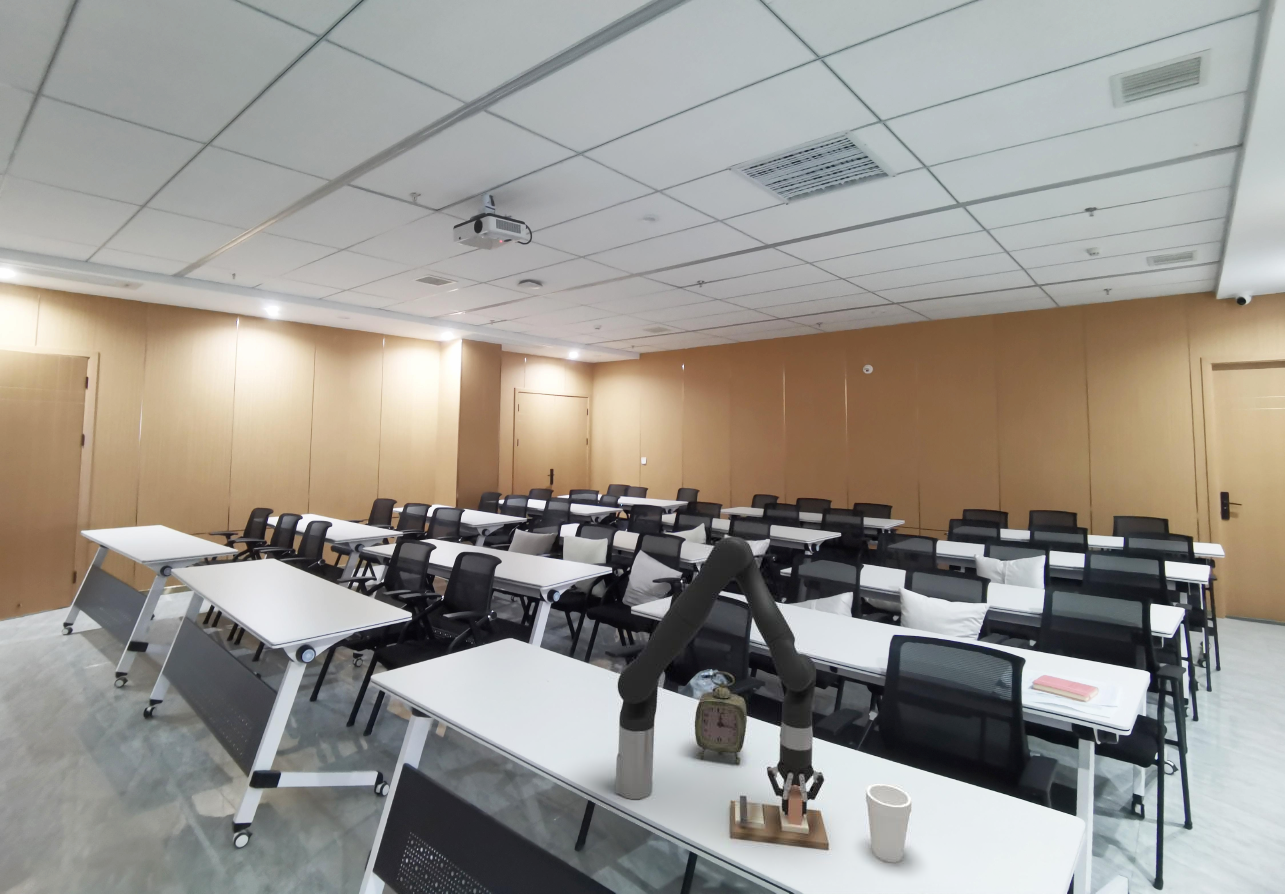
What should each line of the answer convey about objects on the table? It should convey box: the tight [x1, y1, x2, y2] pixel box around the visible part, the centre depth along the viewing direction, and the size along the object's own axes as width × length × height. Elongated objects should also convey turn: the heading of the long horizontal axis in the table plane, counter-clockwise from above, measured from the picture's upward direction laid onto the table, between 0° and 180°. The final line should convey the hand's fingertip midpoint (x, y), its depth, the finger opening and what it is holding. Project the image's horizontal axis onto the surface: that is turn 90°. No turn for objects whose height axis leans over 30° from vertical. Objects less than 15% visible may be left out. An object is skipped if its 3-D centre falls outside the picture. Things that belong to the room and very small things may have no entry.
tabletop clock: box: [694, 671, 748, 765], centre depth 180 cm, size 14×9×25 cm, turn 76°
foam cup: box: [865, 783, 912, 863], centre depth 138 cm, size 10×9×13 cm
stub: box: [779, 785, 809, 834], centre depth 145 cm, size 6×8×7 cm
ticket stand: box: [730, 795, 830, 851], centre depth 146 cm, size 22×13×4 cm, turn 82°
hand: (793, 813), depth 145 cm, fingers closed on stub, 3 cm apart
